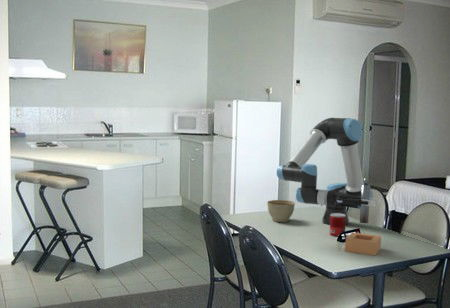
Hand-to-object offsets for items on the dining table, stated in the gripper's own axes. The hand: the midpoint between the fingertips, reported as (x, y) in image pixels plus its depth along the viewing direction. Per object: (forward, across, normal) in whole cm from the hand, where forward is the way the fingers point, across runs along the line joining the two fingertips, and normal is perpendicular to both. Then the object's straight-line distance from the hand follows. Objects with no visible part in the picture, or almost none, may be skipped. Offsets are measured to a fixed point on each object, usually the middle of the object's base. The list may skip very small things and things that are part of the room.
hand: (376, 202), depth 254 cm
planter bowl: (-61, -39, -24) cm, 77 cm away
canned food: (-23, -22, -24) cm, 40 cm away
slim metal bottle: (-5, 0, -10) cm, 11 cm away
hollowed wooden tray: (-5, 0, -23) cm, 24 cm away
